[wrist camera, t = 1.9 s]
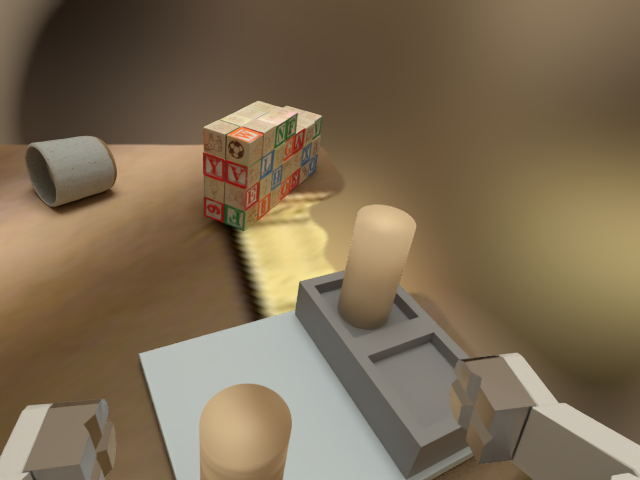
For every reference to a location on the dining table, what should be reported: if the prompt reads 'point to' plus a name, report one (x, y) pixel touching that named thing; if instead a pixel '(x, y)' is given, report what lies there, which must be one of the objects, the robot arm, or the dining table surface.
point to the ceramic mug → (70, 169)
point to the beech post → (244, 434)
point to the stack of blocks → (257, 160)
